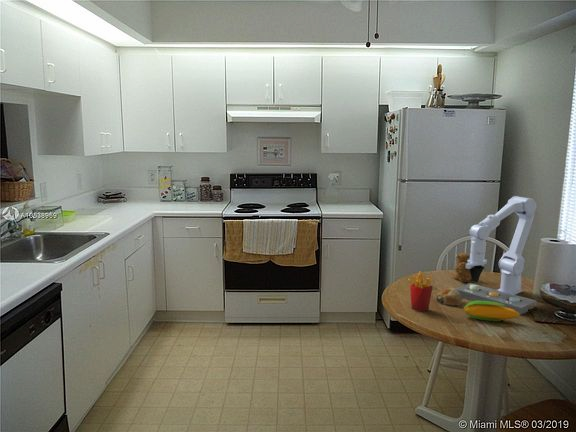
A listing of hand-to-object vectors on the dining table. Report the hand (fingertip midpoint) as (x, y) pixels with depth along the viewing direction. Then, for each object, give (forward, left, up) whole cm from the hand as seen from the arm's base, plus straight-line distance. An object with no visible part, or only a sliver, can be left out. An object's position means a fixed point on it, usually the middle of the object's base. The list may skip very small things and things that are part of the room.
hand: (474, 281), depth 211 cm
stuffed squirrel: (-18, -16, -7) cm, 25 cm away
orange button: (0, +9, -6) cm, 11 cm away
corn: (+21, +19, -7) cm, 29 cm away
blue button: (0, +18, -6) cm, 19 cm away
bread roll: (+16, -2, -7) cm, 18 cm away
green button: (0, 0, -5) cm, 5 cm away
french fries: (+34, -6, -7) cm, 35 cm away
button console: (0, +9, -6) cm, 11 cm away
